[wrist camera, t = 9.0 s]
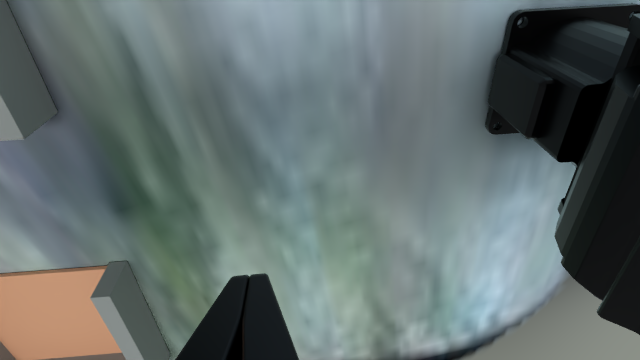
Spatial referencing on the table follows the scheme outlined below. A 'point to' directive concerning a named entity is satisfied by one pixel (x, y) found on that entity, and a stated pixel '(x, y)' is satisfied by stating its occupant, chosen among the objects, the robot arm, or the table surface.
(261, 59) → the table surface
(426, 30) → the table surface
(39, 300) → the trap lane
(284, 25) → the table surface
